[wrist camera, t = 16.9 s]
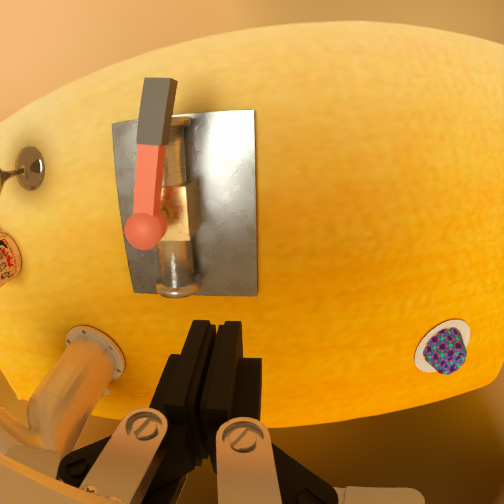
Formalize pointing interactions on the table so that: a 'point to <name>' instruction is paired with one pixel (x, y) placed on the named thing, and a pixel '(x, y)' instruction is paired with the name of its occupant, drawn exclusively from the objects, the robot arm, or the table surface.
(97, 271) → the table surface
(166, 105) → the lever
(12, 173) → the wine glass
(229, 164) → the valve
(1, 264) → the teacup with lid
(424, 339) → the pudding
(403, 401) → the table surface
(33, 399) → the robot arm
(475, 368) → the table surface
